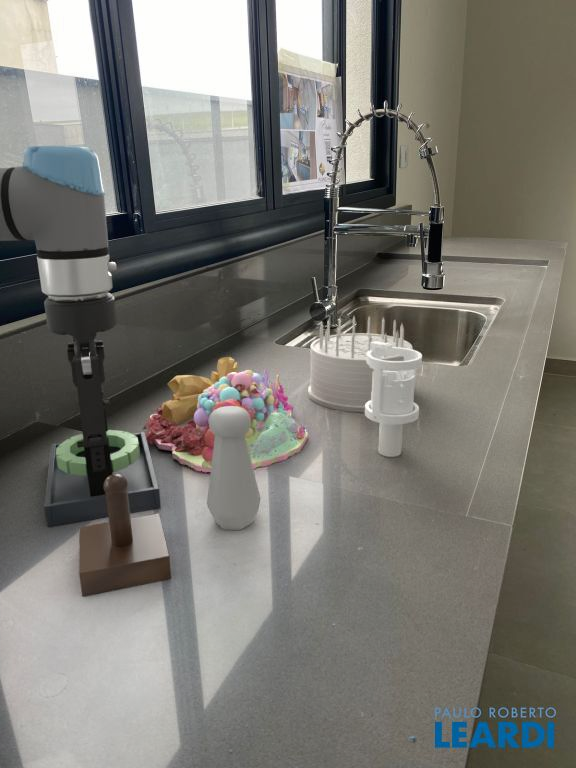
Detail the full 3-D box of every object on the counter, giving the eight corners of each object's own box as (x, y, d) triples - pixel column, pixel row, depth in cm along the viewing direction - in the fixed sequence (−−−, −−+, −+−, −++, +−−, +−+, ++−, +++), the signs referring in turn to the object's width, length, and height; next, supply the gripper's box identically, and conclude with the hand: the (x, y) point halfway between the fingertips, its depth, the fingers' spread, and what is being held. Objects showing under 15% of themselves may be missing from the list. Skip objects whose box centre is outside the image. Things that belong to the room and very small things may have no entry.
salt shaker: (272, 519, 66) (269, 409, 62) (233, 541, 63) (227, 425, 58) (236, 501, 70) (231, 396, 66) (197, 521, 66) (189, 411, 62)
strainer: (384, 436, 87) (388, 335, 82) (426, 451, 82) (433, 345, 77) (353, 452, 82) (355, 346, 78) (395, 468, 78) (401, 356, 73)
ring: (56, 481, 68) (54, 468, 68) (59, 447, 77) (57, 435, 76) (142, 468, 71) (141, 456, 71) (136, 437, 80) (135, 425, 79)
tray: (47, 527, 66) (44, 507, 65) (53, 461, 81) (51, 443, 80) (160, 507, 69) (159, 488, 68) (146, 448, 85) (144, 431, 84)
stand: (82, 596, 55) (68, 503, 51) (82, 548, 62) (69, 463, 59) (171, 578, 57) (163, 487, 54) (161, 533, 64) (153, 451, 61)
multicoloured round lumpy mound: (114, 433, 89) (107, 374, 86) (233, 393, 106) (230, 341, 103) (227, 488, 73) (223, 417, 70) (346, 430, 89) (347, 371, 86)
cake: (431, 390, 106) (436, 315, 101) (375, 420, 93) (378, 336, 88) (347, 371, 117) (348, 303, 112) (286, 396, 104) (285, 320, 100)
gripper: (119, 311, 59) (140, 513, 66) (109, 277, 79) (126, 435, 86) (36, 317, 56) (67, 525, 64) (48, 281, 76) (70, 442, 84)
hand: (101, 474), depth 75 cm, fingers closed on ring, 9 cm apart
